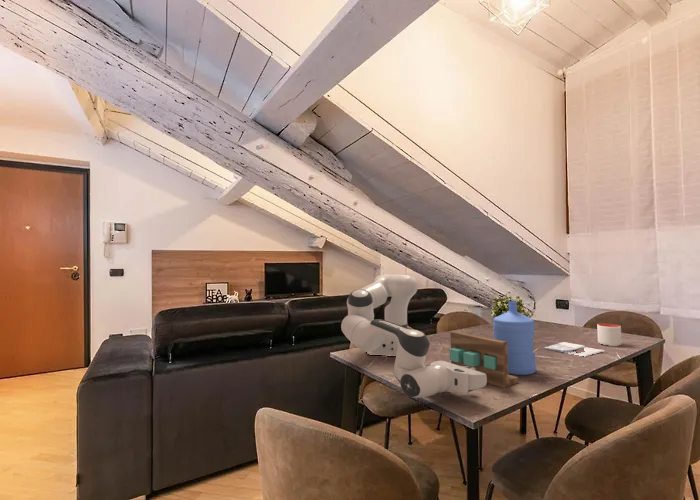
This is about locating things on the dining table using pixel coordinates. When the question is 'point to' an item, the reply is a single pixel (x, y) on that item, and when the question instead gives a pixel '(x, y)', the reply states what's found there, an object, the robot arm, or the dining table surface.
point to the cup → (609, 334)
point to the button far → (457, 354)
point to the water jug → (516, 340)
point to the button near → (490, 361)
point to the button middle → (472, 358)
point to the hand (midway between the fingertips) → (472, 369)
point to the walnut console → (485, 347)
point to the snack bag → (567, 347)
